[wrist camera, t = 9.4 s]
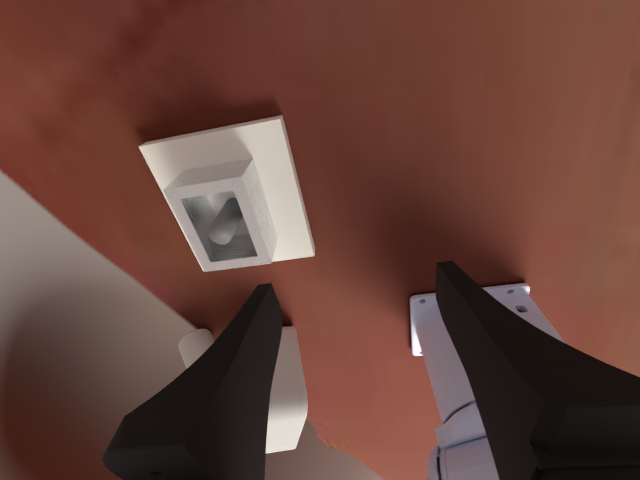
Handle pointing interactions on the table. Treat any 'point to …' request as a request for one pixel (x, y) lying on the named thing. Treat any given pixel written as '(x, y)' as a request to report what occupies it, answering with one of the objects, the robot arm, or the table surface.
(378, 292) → the table surface
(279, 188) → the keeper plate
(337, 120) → the table surface
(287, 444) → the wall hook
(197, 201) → the hollow square tube
